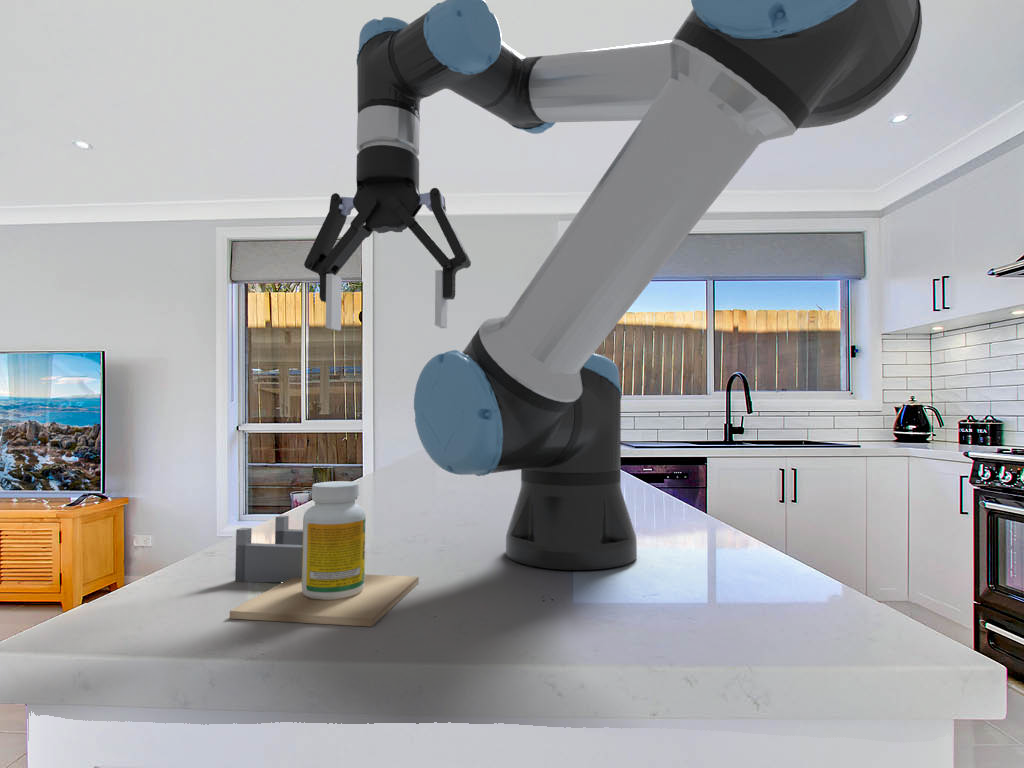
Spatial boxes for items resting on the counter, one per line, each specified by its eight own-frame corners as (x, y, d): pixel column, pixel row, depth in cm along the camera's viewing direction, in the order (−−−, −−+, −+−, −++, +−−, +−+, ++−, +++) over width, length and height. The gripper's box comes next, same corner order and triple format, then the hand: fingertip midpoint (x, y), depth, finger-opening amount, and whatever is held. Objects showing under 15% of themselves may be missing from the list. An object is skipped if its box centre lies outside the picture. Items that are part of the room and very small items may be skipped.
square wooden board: (418, 583, 59) (418, 576, 59) (371, 626, 47) (371, 618, 47) (302, 577, 60) (302, 571, 60) (229, 618, 49) (229, 610, 49)
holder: (347, 563, 66) (347, 517, 66) (311, 584, 58) (312, 532, 58) (279, 560, 67) (280, 515, 68) (235, 580, 59) (236, 529, 60)
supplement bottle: (293, 590, 54) (295, 482, 55) (349, 580, 58) (351, 478, 58) (315, 605, 50) (317, 488, 50) (374, 593, 53) (376, 484, 54)
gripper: (494, 161, 76) (493, 330, 75) (307, 173, 79) (304, 333, 78) (482, 134, 68) (481, 321, 67) (277, 148, 72) (273, 325, 71)
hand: (386, 328), depth 73 cm, fingers open, 13 cm apart
